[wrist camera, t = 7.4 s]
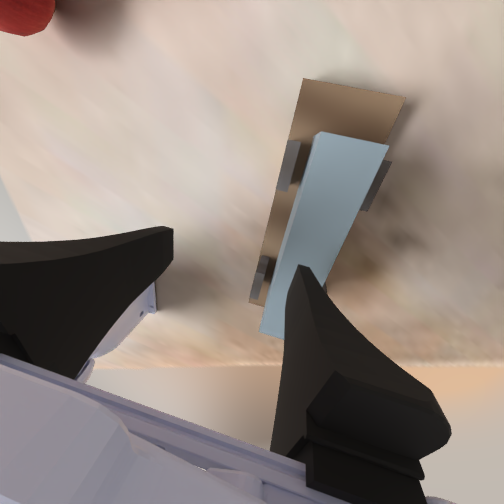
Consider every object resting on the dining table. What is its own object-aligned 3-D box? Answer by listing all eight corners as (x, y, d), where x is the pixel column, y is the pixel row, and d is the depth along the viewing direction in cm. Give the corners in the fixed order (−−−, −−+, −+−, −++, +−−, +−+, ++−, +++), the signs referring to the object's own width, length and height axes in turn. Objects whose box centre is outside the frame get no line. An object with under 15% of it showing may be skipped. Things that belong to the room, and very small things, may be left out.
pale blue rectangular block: (304, 296, 21) (305, 346, 16) (269, 286, 21) (258, 332, 16) (368, 147, 14) (408, 149, 9) (313, 135, 14) (321, 131, 9)
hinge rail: (303, 309, 24) (304, 341, 20) (251, 293, 24) (241, 322, 20) (396, 101, 14) (433, 85, 10) (303, 84, 14) (303, 61, 10)
